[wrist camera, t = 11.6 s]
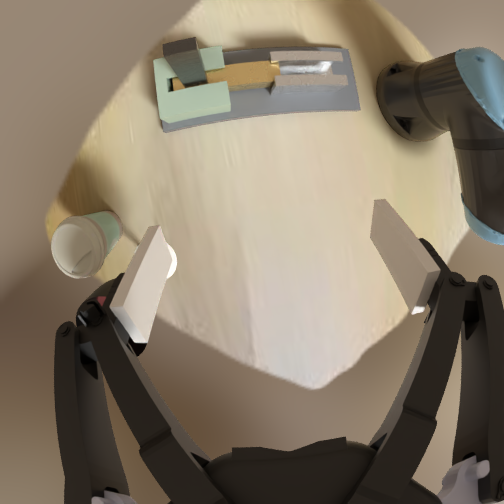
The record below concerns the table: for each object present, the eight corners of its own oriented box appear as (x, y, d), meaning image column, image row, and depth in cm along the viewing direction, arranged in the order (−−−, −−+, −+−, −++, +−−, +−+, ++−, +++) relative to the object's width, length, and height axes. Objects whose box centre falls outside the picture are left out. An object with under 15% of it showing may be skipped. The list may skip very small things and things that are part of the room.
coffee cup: (92, 254, 41) (57, 283, 30) (83, 206, 38) (42, 223, 27) (134, 250, 42) (105, 281, 30) (126, 199, 39) (91, 215, 28)
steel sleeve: (328, 62, 32) (341, 52, 28) (334, 92, 34) (348, 84, 29) (265, 64, 32) (269, 51, 27) (270, 94, 34) (276, 86, 29)
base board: (344, 51, 33) (348, 49, 32) (356, 111, 37) (360, 110, 35) (157, 69, 32) (155, 66, 31) (165, 132, 36) (163, 132, 35)
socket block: (222, 58, 32) (221, 45, 27) (230, 111, 34) (230, 104, 30) (162, 70, 31) (153, 59, 26) (168, 123, 34) (159, 118, 29)
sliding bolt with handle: (274, 67, 32) (299, 20, 17) (277, 86, 33) (305, 47, 18) (176, 81, 31) (146, 41, 17) (179, 101, 32) (148, 69, 18)
